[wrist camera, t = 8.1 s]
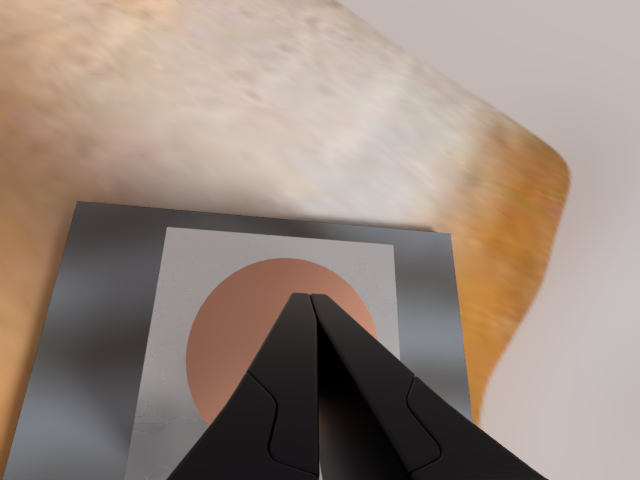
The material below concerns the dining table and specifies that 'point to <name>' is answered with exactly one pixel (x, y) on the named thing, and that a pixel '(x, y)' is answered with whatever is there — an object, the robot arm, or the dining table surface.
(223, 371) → the terracotta plug
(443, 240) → the slate board
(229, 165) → the dining table surface
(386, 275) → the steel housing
